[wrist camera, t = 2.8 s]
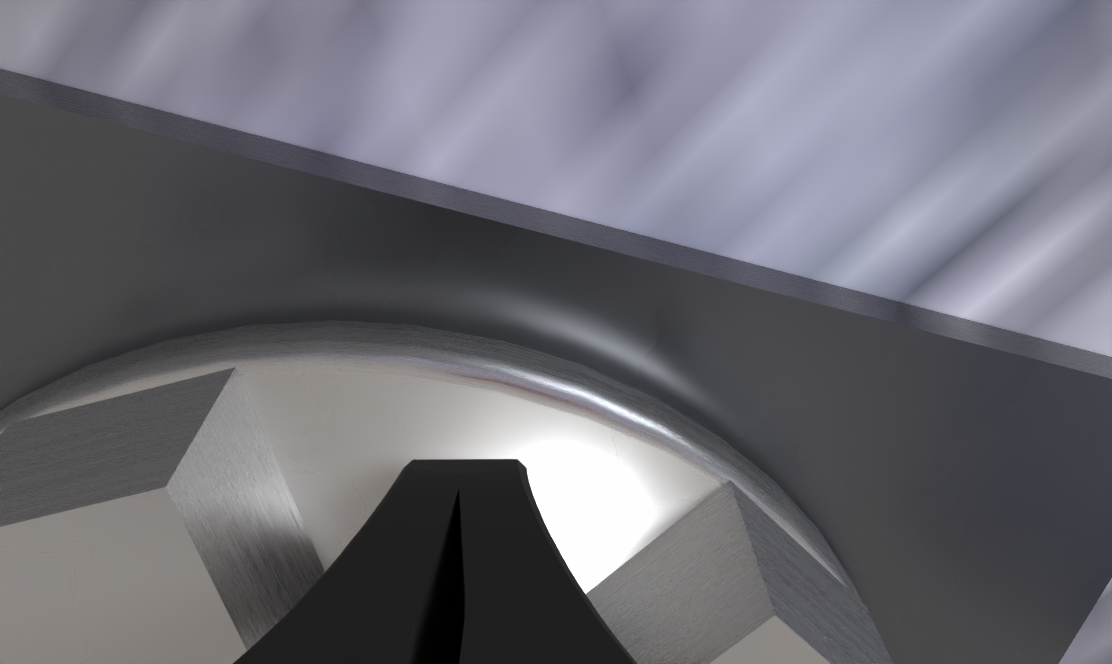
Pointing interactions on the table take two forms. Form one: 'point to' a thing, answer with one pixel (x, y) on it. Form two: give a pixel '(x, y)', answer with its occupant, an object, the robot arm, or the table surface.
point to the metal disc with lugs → (363, 481)
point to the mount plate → (589, 347)
